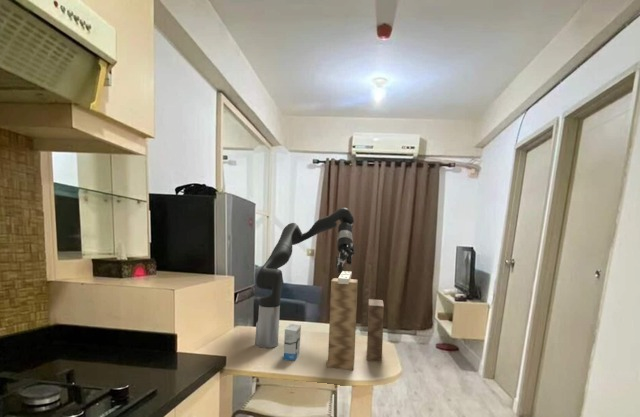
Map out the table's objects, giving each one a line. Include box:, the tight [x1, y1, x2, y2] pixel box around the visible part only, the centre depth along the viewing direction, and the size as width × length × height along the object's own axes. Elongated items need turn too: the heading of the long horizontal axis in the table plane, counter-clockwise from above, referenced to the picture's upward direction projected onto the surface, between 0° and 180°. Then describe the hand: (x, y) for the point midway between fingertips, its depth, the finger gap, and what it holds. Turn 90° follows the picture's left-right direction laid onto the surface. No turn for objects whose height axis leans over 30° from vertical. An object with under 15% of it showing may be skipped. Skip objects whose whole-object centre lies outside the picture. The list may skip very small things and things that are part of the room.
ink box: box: [283, 323, 302, 361], centre depth 138 cm, size 8×5×12 cm, turn 168°
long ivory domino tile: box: [338, 270, 353, 284], centre depth 138 cm, size 4×22×2 cm, turn 172°
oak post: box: [326, 277, 358, 371], centre depth 134 cm, size 10×11×32 cm
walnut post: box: [366, 298, 385, 362], centre depth 143 cm, size 6×12×22 cm, turn 172°
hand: (344, 268), depth 157 cm, fingers open, 8 cm apart
